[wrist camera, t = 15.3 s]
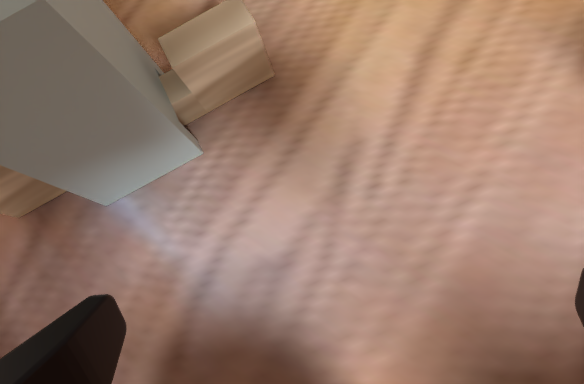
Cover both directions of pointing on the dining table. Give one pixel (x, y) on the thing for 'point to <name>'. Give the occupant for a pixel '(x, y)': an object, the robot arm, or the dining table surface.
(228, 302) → the dining table surface
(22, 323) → the dining table surface
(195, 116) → the slotted board
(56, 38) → the pale grey upright block
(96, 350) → the robot arm
